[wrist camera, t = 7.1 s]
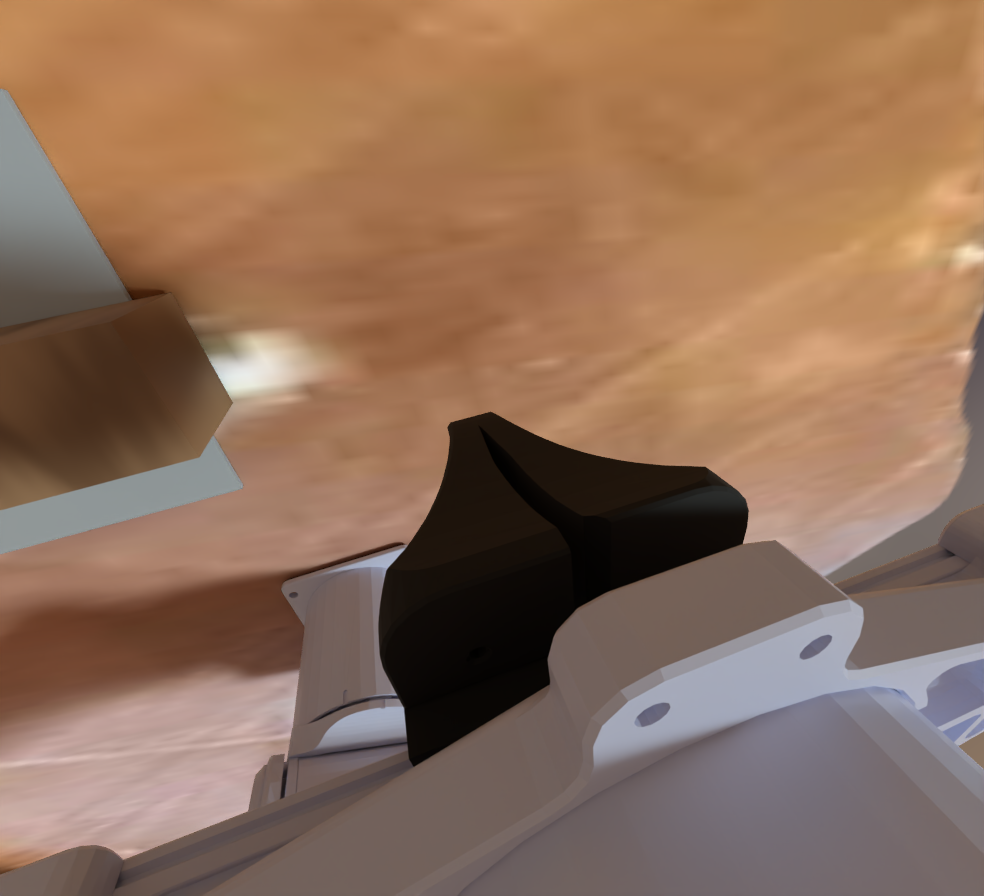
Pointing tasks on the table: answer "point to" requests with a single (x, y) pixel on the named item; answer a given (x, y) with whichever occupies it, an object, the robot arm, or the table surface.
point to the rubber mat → (62, 290)
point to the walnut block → (102, 398)
